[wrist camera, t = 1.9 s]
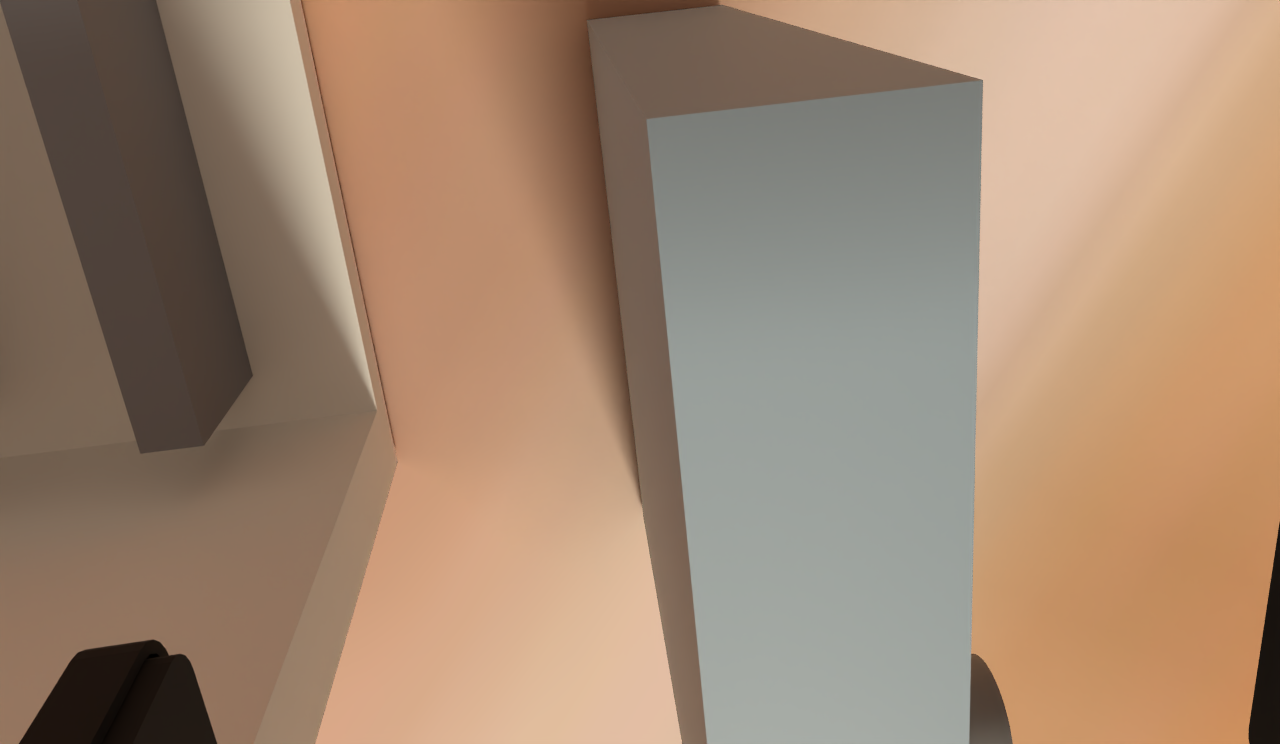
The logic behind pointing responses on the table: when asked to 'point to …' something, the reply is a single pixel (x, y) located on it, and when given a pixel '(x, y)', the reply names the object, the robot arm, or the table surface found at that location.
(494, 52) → the table surface
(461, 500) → the table surface
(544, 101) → the table surface
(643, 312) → the door panel
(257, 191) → the cabinet base
